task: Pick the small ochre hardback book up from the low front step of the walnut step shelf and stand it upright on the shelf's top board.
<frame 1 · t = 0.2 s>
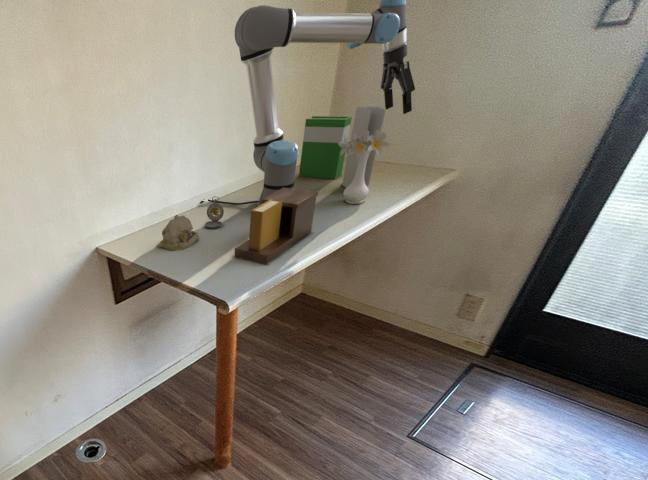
hand: (398, 110, 162), 28 cm above the table, tool tilted 20°, fingers open, 13 cm apart
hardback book: (319, 176, 199), on the table
flower vase: (352, 202, 167), on the table
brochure: (354, 189, 179), on the table
ceramic model: (178, 243, 151), on the table
pocket watch: (214, 225, 161), on the table
ochre book: (263, 243, 136), point 3 cm above the table, touching step shelf
step shelf: (275, 243, 142), on the table
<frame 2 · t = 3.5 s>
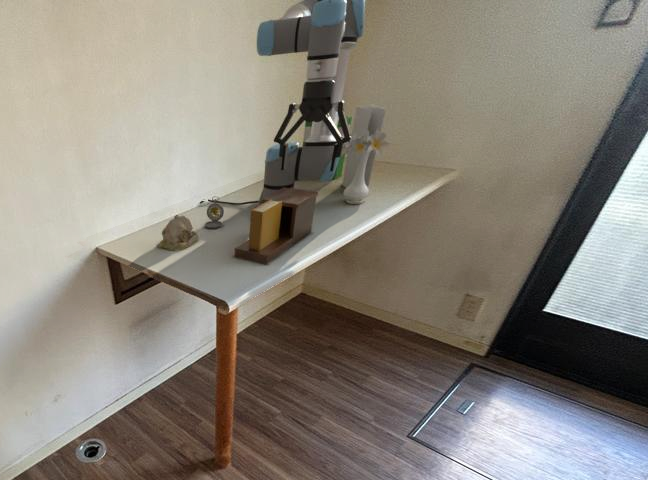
hand: (307, 169, 119), 25 cm above the table, tool pointing down, fingers open, 13 cm apart
nothing on the table moved.
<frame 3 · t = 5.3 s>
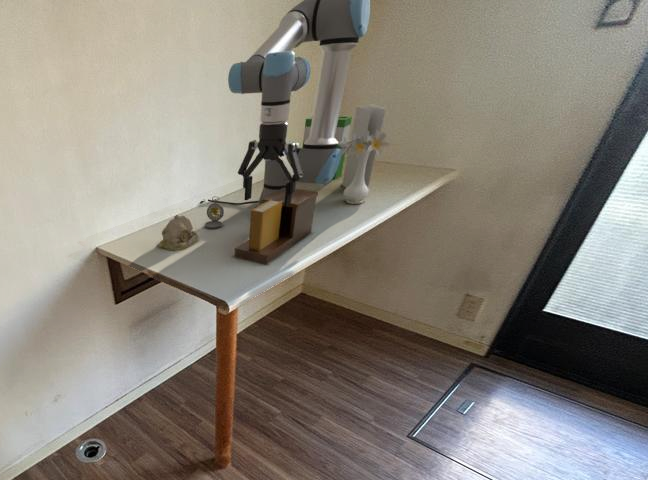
hand: (266, 202, 127), 16 cm above the table, tool pointing down, fingers open, 13 cm apart
nothing on the table moved.
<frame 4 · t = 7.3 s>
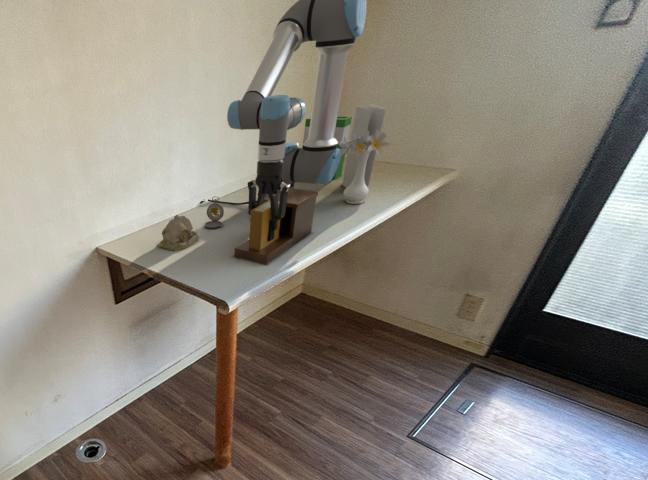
hand: (264, 238, 135), 5 cm above the table, tool pointing down, fingers closed on ochre book, 4 cm apart
ochre book: (263, 243, 136), point 3 cm above the table, touching gripper, step shelf
everything else where it was.
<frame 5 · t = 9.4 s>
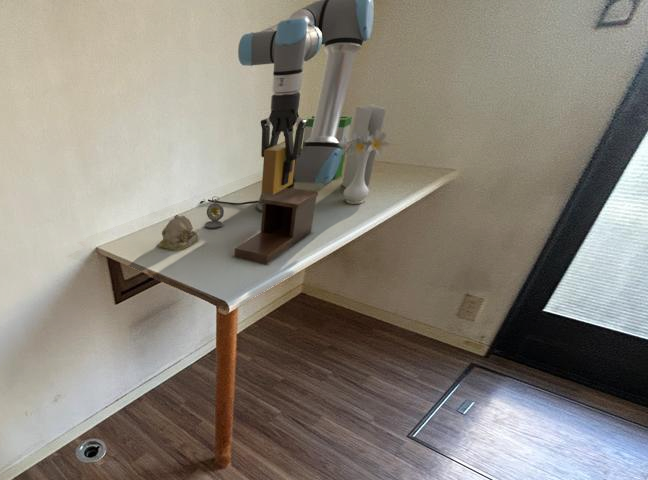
hand: (277, 182, 128), 20 cm above the table, tool pointing down, fingers closed on ochre book, 4 cm apart
ochre book: (277, 188, 129), point 19 cm above the table, touching gripper
everything else where it was.
when the fingers open (16 cm above the table, at t = 11.9 s): ochre book stays where it is, resting on step shelf.
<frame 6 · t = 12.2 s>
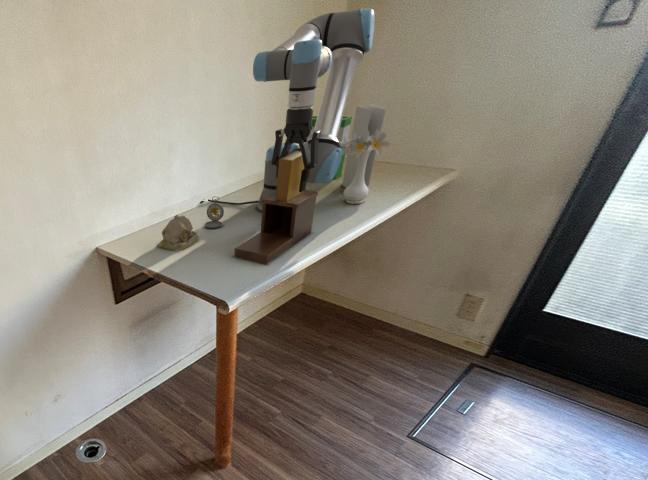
hand: (290, 189, 136), 16 cm above the table, tool pointing down, fingers open, 7 cm apart
ochre book: (290, 195, 137), point 14 cm above the table, touching step shelf
everything else where it was.
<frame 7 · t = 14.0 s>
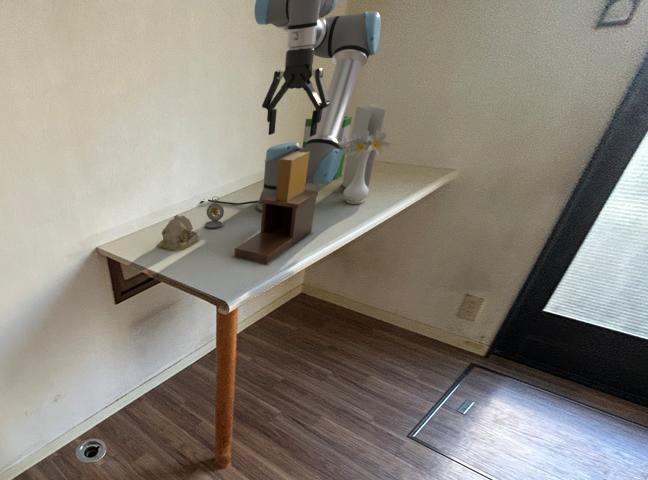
hand: (291, 134, 128), 31 cm above the table, tool pointing down, fingers open, 13 cm apart
nothing on the table moved.
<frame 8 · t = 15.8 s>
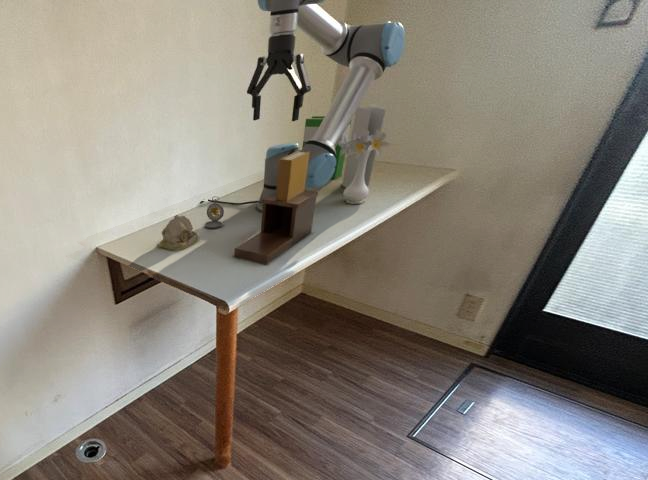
hand: (275, 120, 132), 35 cm above the table, tool pointing down, fingers open, 13 cm apart
nothing on the table moved.
at the end: ochre book inside the target area (0.0 cm from its centre), point 14.0 cm above the table; ochre book tilted 0°; the gripper is holding nothing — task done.
